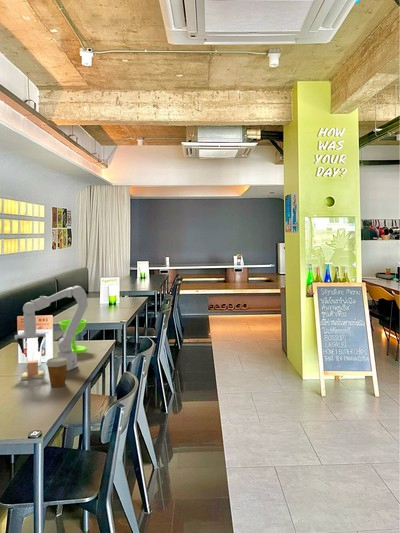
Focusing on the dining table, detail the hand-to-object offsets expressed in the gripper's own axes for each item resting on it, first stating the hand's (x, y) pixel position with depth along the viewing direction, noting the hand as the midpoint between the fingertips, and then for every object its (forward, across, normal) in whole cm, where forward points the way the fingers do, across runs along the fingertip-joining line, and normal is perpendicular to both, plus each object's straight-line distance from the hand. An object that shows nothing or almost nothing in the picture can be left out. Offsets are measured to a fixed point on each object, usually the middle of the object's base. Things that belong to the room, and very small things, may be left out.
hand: (31, 352), depth 208 cm
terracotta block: (+9, +1, -8) cm, 12 cm away
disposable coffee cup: (+11, +14, -25) cm, 31 cm away
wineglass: (+11, +20, +36) cm, 43 cm away
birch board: (+10, +1, -8) cm, 13 cm away
